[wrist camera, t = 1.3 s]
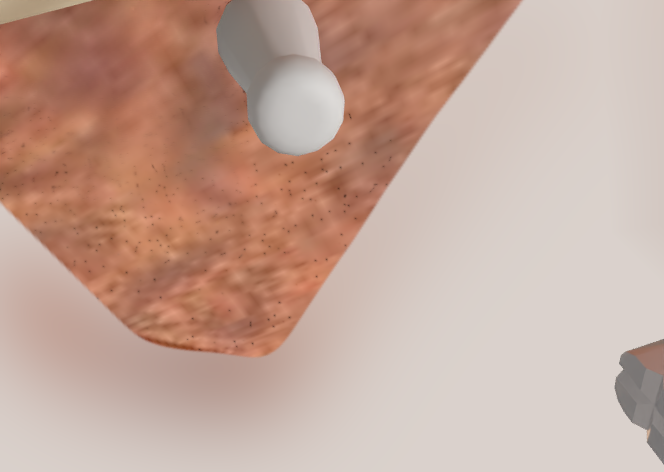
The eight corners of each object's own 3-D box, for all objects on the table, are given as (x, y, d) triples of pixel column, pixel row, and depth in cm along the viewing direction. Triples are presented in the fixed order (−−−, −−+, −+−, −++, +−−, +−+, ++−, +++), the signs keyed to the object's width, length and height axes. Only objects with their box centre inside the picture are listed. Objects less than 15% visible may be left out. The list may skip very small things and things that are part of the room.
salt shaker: (229, 83, 35) (250, 192, 25) (201, -11, 31) (212, 72, 21) (318, 60, 35) (373, 158, 25) (300, -35, 32) (356, 35, 22)
